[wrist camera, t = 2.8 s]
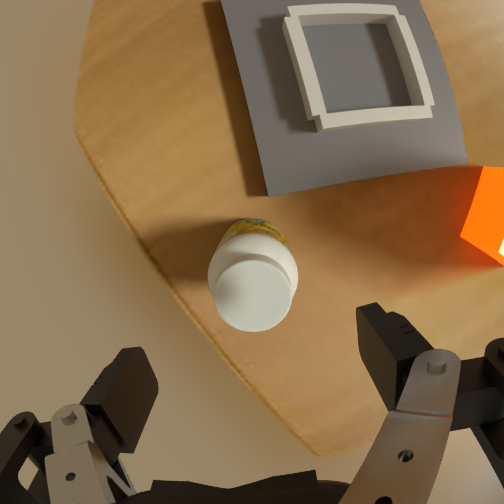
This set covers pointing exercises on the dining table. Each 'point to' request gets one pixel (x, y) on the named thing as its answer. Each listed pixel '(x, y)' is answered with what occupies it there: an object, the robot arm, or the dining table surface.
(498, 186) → the orange juice
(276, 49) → the socket board
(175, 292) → the dining table surface
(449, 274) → the dining table surface
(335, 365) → the dining table surface
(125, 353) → the robot arm
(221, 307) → the supplement bottle
